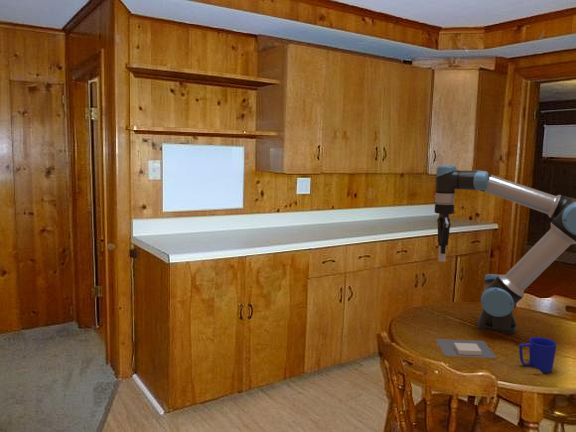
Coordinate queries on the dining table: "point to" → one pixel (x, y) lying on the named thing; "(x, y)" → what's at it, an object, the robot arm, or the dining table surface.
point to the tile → (467, 349)
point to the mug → (540, 353)
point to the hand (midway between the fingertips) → (441, 261)
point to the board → (448, 344)
